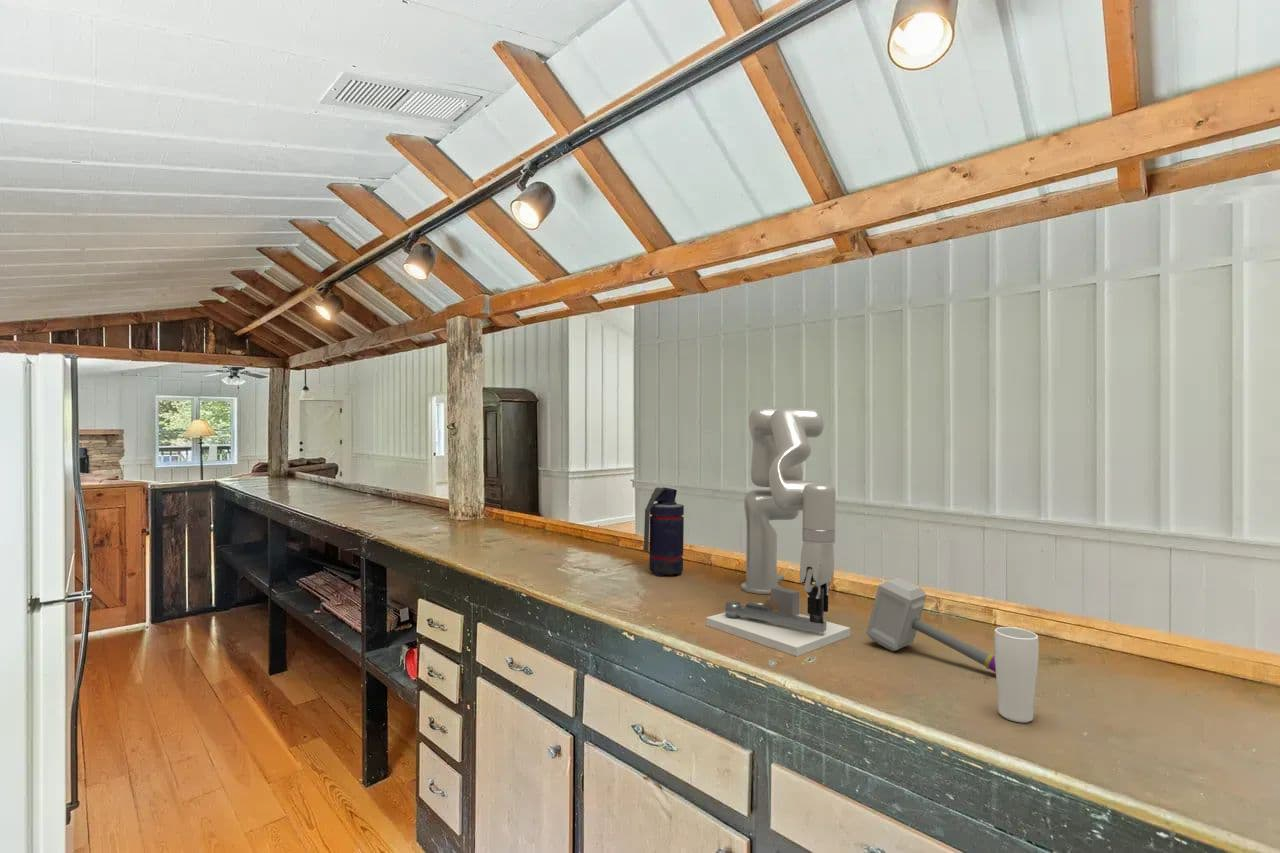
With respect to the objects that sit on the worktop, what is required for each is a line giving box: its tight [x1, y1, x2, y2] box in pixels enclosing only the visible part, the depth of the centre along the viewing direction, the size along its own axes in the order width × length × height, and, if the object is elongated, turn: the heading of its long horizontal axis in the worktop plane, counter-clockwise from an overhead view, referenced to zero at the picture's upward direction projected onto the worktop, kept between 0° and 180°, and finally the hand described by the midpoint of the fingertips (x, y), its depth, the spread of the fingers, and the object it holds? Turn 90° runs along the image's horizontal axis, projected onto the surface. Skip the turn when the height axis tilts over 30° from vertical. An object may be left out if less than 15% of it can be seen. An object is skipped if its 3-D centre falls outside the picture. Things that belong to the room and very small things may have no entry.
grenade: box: [643, 486, 685, 578], centre depth 216 cm, size 14×12×30 cm
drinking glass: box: [993, 626, 1040, 723], centre depth 110 cm, size 7×7×15 cm
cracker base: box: [705, 586, 851, 657], centre depth 155 cm, size 28×22×8 cm
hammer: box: [865, 577, 996, 673], centre depth 136 cm, size 15×8×30 cm
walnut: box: [762, 598, 778, 612], centre depth 160 cm, size 4×4×4 cm
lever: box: [725, 587, 828, 632], centre depth 154 cm, size 26×5×10 cm, turn 55°
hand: (817, 611), depth 147 cm, fingers closed on lever, 3 cm apart
